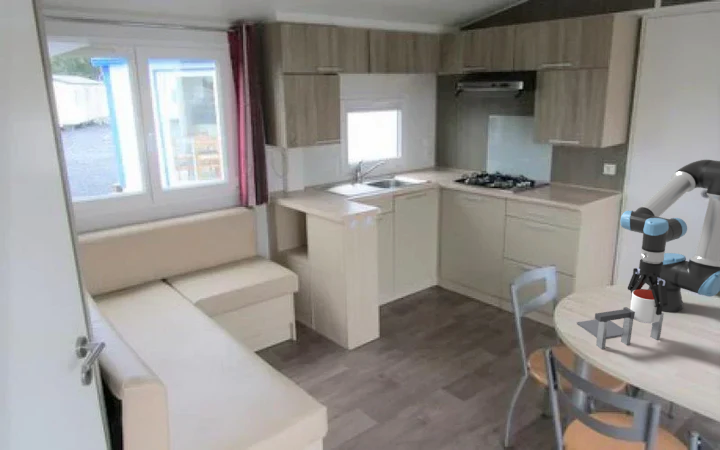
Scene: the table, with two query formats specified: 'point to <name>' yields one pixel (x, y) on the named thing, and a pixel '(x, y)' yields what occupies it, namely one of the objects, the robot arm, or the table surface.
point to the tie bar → (615, 315)
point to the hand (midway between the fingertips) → (644, 315)
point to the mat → (592, 328)
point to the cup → (643, 305)
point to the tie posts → (626, 331)
